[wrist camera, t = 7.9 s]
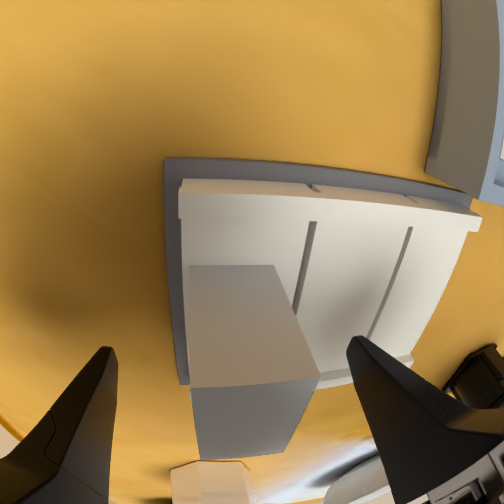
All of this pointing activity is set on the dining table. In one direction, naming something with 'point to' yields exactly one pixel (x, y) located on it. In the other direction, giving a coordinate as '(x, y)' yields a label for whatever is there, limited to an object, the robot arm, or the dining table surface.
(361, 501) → the serving bowl
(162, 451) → the dining table surface
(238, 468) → the jar
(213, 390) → the slotted white tray
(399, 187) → the mat
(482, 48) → the tub
